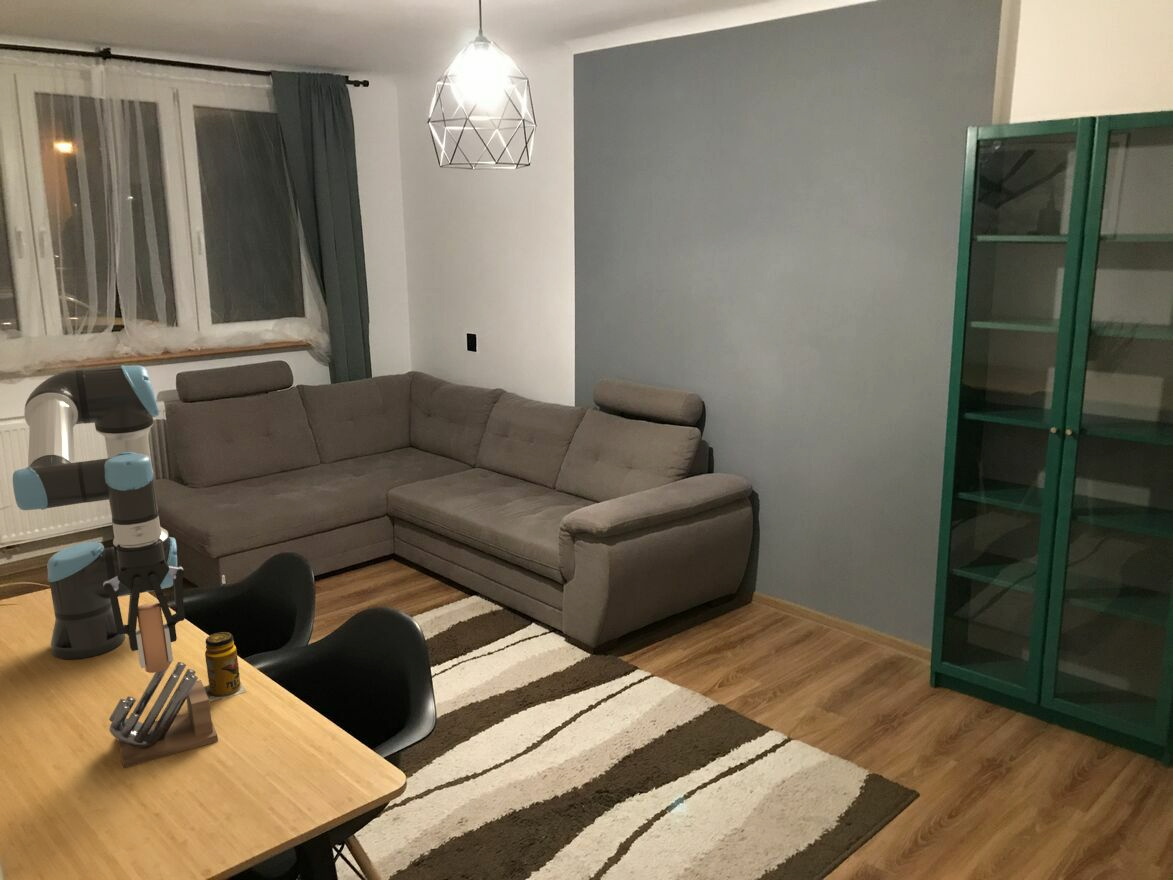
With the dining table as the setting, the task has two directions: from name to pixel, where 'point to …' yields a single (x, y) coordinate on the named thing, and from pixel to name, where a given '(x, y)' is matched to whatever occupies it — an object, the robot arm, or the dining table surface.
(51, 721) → the dining table surface
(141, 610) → the peg
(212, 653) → the condiment
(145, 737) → the socket
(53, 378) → the robot arm
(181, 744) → the socket base
